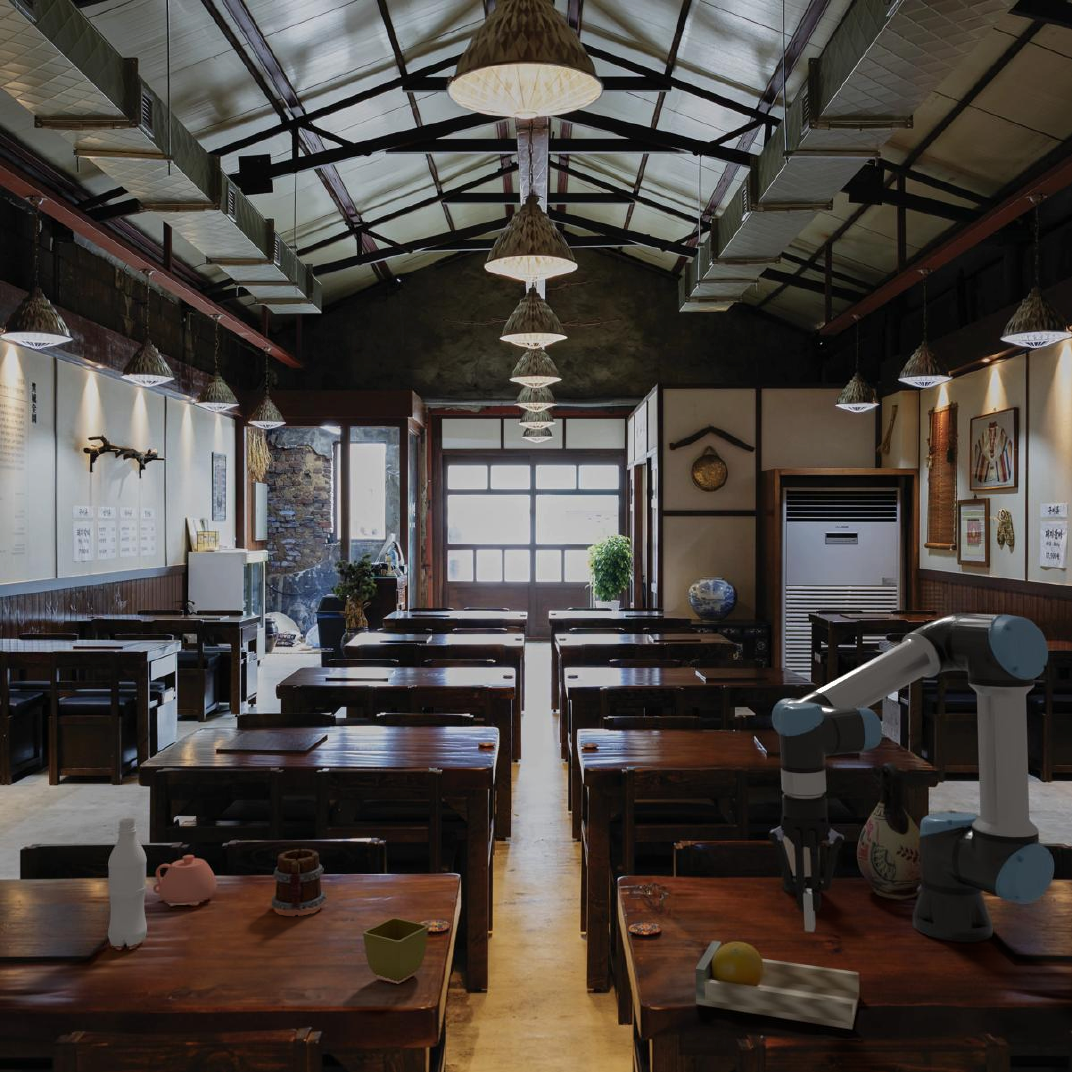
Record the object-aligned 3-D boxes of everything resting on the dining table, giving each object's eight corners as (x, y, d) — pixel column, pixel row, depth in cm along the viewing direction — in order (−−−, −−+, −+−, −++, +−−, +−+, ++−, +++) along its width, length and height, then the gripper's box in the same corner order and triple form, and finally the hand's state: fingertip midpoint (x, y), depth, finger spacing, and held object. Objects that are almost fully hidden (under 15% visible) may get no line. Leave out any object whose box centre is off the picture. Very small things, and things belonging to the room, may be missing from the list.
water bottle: (154, 942, 201) (154, 817, 202) (126, 955, 195) (126, 826, 196) (128, 937, 204) (128, 814, 205) (99, 949, 198) (99, 822, 199)
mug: (328, 895, 228) (327, 833, 226) (324, 928, 214) (323, 862, 212) (275, 898, 226) (273, 835, 224) (268, 932, 212) (266, 865, 210)
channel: (859, 995, 174) (858, 960, 174) (852, 1029, 162) (851, 991, 162) (713, 973, 184) (712, 940, 184) (695, 1003, 171) (695, 968, 171)
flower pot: (399, 992, 177) (398, 941, 177) (361, 981, 182) (361, 931, 182) (430, 974, 185) (429, 925, 185) (393, 965, 189) (393, 917, 189)
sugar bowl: (206, 910, 220) (206, 864, 220) (142, 911, 220) (142, 864, 220) (224, 892, 232) (224, 847, 232) (164, 892, 232) (164, 848, 232)
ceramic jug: (849, 882, 234) (847, 753, 235) (915, 882, 234) (913, 753, 235) (871, 907, 217) (868, 769, 218) (943, 907, 217) (940, 768, 218)
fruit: (712, 999, 171) (712, 951, 171) (711, 979, 179) (710, 934, 179) (765, 1002, 170) (765, 954, 170) (762, 982, 178) (761, 936, 178)
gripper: (844, 789, 176) (850, 924, 176) (769, 786, 181) (775, 917, 181) (841, 800, 169) (847, 940, 169) (762, 796, 174) (768, 932, 174)
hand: (810, 928), depth 175 cm, fingers closed
